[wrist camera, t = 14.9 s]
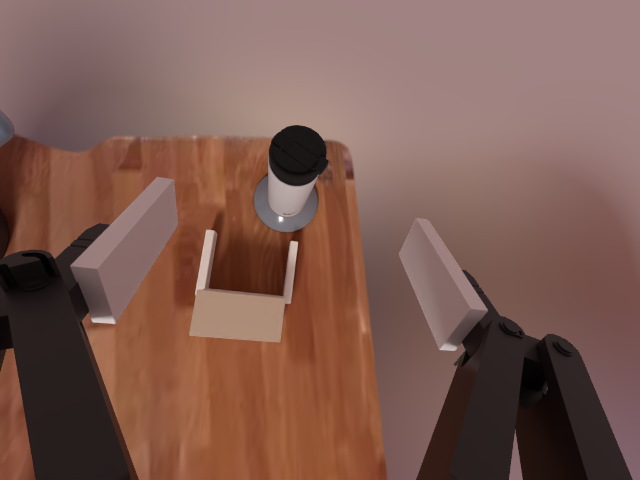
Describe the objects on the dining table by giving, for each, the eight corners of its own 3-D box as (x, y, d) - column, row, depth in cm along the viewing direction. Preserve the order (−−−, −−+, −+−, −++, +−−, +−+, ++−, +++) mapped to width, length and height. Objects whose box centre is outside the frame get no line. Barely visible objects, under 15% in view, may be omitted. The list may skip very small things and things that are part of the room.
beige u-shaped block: (210, 232, 47) (199, 223, 40) (296, 244, 50) (301, 237, 42) (193, 326, 45) (179, 334, 37) (285, 333, 47) (288, 343, 40)
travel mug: (292, 226, 49) (308, 190, 30) (260, 203, 49) (256, 152, 29) (312, 198, 50) (341, 146, 31) (282, 176, 50) (291, 109, 31)
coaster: (242, 187, 49) (242, 185, 49) (299, 162, 52) (299, 160, 51) (272, 243, 49) (272, 242, 48) (327, 215, 51) (328, 214, 51)
